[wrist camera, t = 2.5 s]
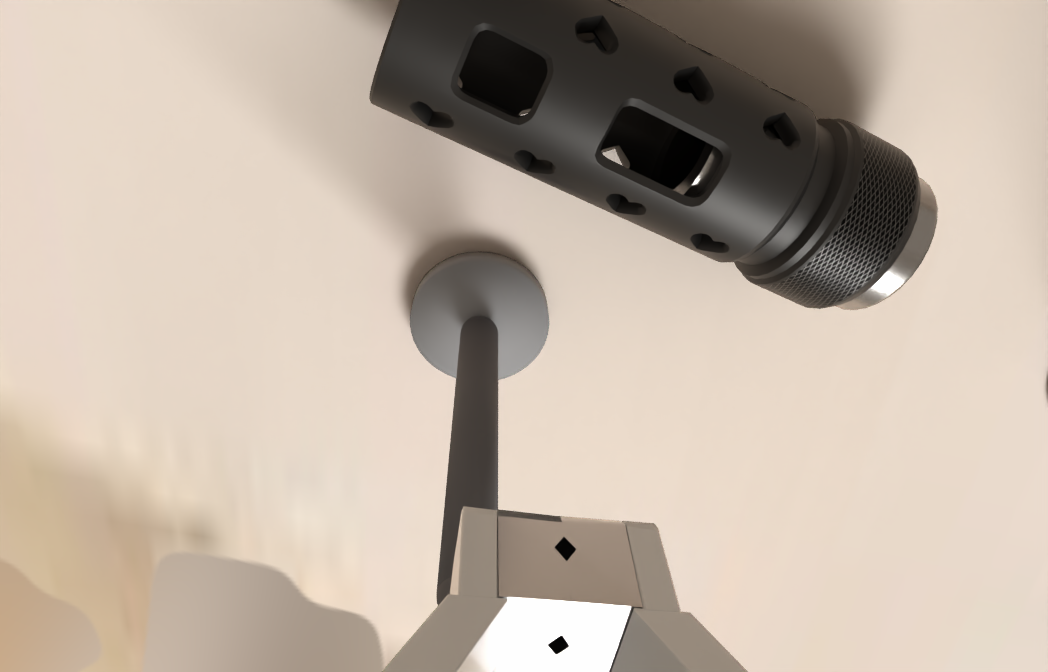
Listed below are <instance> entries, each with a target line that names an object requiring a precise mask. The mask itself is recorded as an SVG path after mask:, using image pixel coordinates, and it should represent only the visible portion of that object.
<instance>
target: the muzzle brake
mask: <svg viewBox="0 0 1048 672" xmlns="http://www.w3.org/2000/svg"><path fill="white" fill-rule="evenodd" d="M370 101H371V103H372V104H374V105H376V106H378V107H380V108H382V109H385V110H387V111H389V112H391V113H393V114H396V115H398V116H400V117H402V118H404V119H407V120H409V121H411V122H413V123H415V124H418V125H420V126H422V127H424V128H426V129H429V130H431V131H433V132H435V133H437V134H439V135H442V136H444V137H446V138H448V139H450V140H453V141H455V142H457V143H459V144H461V145H464V146H466V147H468V148H470V149H472V150H475V151H477V152H479V153H481V154H483V155H485V156H488V157H490V158H492V159H494V160H496V161H499V162H501V163H503V164H505V165H507V166H510V167H512V168H514V169H516V170H518V171H521V172H523V173H525V174H527V175H529V176H532V177H534V178H536V179H538V180H540V181H542V182H545V183H547V184H549V185H551V186H553V187H556V188H558V189H560V190H562V191H564V192H567V193H569V194H571V195H573V196H575V197H578V198H580V199H582V200H584V201H586V202H588V203H591V204H593V205H595V206H597V207H599V208H602V209H604V210H606V211H608V212H610V213H613V214H615V215H617V216H619V217H621V218H624V219H626V220H628V221H630V222H632V223H635V224H637V225H639V226H641V227H643V228H645V229H648V230H650V231H652V232H654V233H656V234H659V235H661V236H663V237H665V238H667V239H670V240H672V241H674V242H676V243H678V244H681V245H683V246H685V247H687V248H689V249H691V250H694V251H696V252H698V253H700V254H702V255H705V256H707V257H709V258H711V259H713V260H716V261H718V262H734V263H735V265H736V267H737V268H738V269H739V270H740V271H741V272H742V274H743V276H744V277H745V278H746V279H747V280H748V281H750V282H751V283H753V284H755V285H758V286H760V287H762V288H764V289H767V290H769V291H771V292H773V293H775V294H778V295H780V296H782V297H784V298H786V299H789V300H791V301H793V302H795V303H797V304H800V305H802V306H804V307H807V308H819V309H820V308H826V307H832V306H836V307H839V308H841V309H847V310H858V309H863V308H868V307H870V306H873V305H875V304H878V303H879V302H881V301H883V300H884V299H886V298H888V297H890V296H891V295H892V294H893V293H895V292H896V291H897V290H898V289H900V288H901V287H902V286H903V285H904V284H905V283H906V282H907V281H908V280H909V278H910V277H911V276H912V275H913V274H914V272H915V271H916V270H917V268H918V267H919V265H920V264H921V262H922V260H923V259H924V257H925V255H926V253H927V251H928V249H929V247H930V244H931V242H932V239H933V236H934V233H935V228H936V224H937V211H938V208H937V202H936V197H935V195H934V193H933V191H932V189H931V187H930V186H929V185H928V184H927V183H926V182H925V181H924V180H923V179H921V178H919V177H918V174H917V171H916V168H915V166H914V164H913V162H912V160H911V159H910V158H909V156H907V155H906V154H905V153H904V152H903V151H902V150H901V149H899V148H897V147H895V146H893V145H891V144H890V143H888V142H886V141H884V140H882V139H880V138H879V137H877V136H875V135H873V134H871V133H869V132H867V131H866V130H864V129H862V128H860V127H858V126H856V125H855V124H853V123H850V122H848V121H845V120H841V119H835V120H831V119H819V120H816V118H815V115H814V114H813V112H812V111H811V110H810V109H809V108H808V107H807V106H806V105H804V104H803V103H801V102H799V101H797V100H795V99H793V98H791V97H789V96H787V95H785V94H783V93H781V92H779V91H777V90H774V89H772V88H768V87H767V85H765V84H764V83H762V82H761V81H760V80H758V79H756V78H754V77H753V76H751V75H749V74H747V73H745V72H743V71H741V70H740V69H738V68H736V67H734V66H732V65H730V64H729V63H727V62H725V61H723V60H721V59H719V58H717V57H716V56H714V55H712V54H710V53H707V52H705V51H703V50H701V49H699V48H697V47H695V46H693V45H690V44H687V43H686V42H685V41H684V40H682V39H681V38H679V37H678V36H676V35H675V34H673V33H671V32H669V31H667V30H666V29H664V28H662V27H660V26H658V25H656V24H655V23H653V22H651V21H649V20H647V19H645V18H643V17H642V16H640V15H638V14H636V13H634V12H632V11H630V10H629V9H627V8H625V7H623V6H621V5H619V4H617V3H614V2H612V1H610V0H400V1H399V4H398V7H397V9H396V12H395V15H394V18H393V20H392V23H391V26H390V29H389V32H388V35H387V38H386V41H385V43H384V46H383V50H382V53H381V56H380V59H379V62H378V65H377V68H376V72H375V75H374V79H373V82H372V86H371V91H370ZM525 113H528V114H526V115H524V116H520V115H522V114H525ZM612 149H616V152H617V154H618V156H619V158H620V161H621V163H622V165H623V166H622V165H620V164H618V163H616V162H613V161H611V160H609V159H608V158H606V157H605V156H604V155H603V154H602V152H606V151H609V150H612Z"/></svg>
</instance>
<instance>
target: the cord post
mask: <svg viewBox="0 0 1048 672" xmlns="http://www.w3.org/2000/svg"><path fill="white" fill-rule="evenodd" d="M410 327H411V333H412V336H413V340H414V342H415V344H416V346H417V348H418V350H419V351H420V353H421V354H422V355H423V356H424V358H425V359H426V360H427V361H428V362H429V363H430V364H431V365H433V366H434V367H435V368H437V369H438V370H440V371H441V372H443V373H445V374H447V375H449V376H452V377H454V378H456V387H455V398H454V409H453V420H452V431H451V442H450V453H449V464H448V475H447V486H446V497H445V508H444V519H443V529H442V540H441V551H440V562H439V573H438V584H437V604H438V605H439V604H440V603H441V602H442V601H443V600H444V598H445V597H446V596H447V595H448V594H450V588H451V580H452V572H453V564H454V556H455V550H456V543H457V537H458V531H459V524H460V518H461V511H462V509H463V506H465V507H474V508H482V509H490V510H495V511H496V510H498V380H500V379H503V378H507V377H509V376H512V375H514V374H516V373H518V372H519V371H521V370H523V369H524V368H525V367H527V366H528V365H529V364H530V363H531V362H532V361H533V360H534V359H535V358H536V357H537V356H538V354H539V353H540V351H541V350H542V348H543V346H544V344H545V341H546V338H547V335H548V329H549V315H548V307H547V301H546V297H545V294H544V291H543V289H542V287H541V285H540V283H539V282H538V281H537V279H536V278H535V277H534V275H533V274H532V273H531V272H530V271H529V270H528V269H526V268H525V267H524V266H523V265H521V264H520V263H518V262H516V261H515V260H512V259H510V258H508V257H506V256H502V255H499V254H495V253H490V252H469V253H463V254H459V255H456V256H453V257H450V258H448V259H446V260H444V261H442V262H441V263H439V264H437V265H436V266H435V267H434V268H432V269H431V270H430V271H429V272H428V273H427V274H426V275H425V276H424V278H423V279H422V281H421V282H420V284H419V286H418V288H417V290H416V293H415V296H414V300H413V304H412V309H411V315H410Z"/></svg>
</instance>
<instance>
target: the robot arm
mask: <svg viewBox="0 0 1048 672" xmlns="http://www.w3.org/2000/svg"><path fill="white" fill-rule="evenodd" d="M382 672H748V671H747V670H746V669H745V668H744V667H743V666H742V665H741V664H740V663H739V662H738V661H737V660H736V659H735V658H734V657H733V656H732V655H731V654H730V653H729V652H728V651H727V650H726V649H725V648H724V647H723V646H722V645H721V644H720V643H719V642H718V641H717V640H716V638H715V637H714V636H713V635H712V634H711V633H710V632H709V631H708V630H707V629H706V628H705V627H704V626H703V625H702V624H701V623H700V622H699V621H698V620H697V619H696V618H695V617H694V616H693V615H692V614H691V613H688V612H681V611H680V607H679V603H678V600H677V596H676V592H675V589H674V585H673V581H672V578H671V574H670V570H669V567H668V563H667V559H666V555H665V552H664V548H663V544H662V541H661V537H660V533H659V530H658V528H657V527H656V525H655V524H654V523H642V522H629V521H622V522H621V521H615V520H602V519H590V518H577V517H564V516H550V515H541V514H532V513H524V512H515V511H506V510H496V511H495V510H490V509H482V508H474V507H465V506H463V509H462V511H461V518H460V524H459V531H458V537H457V543H456V550H455V556H454V564H453V572H452V580H451V588H450V594H448V595H447V596H446V597H445V598H444V600H443V601H442V602H441V603H440V604H439V605H438V607H437V608H436V609H435V610H434V611H433V612H432V614H431V615H430V616H429V617H428V618H427V619H426V621H425V622H424V623H423V624H422V625H421V626H420V628H419V629H418V630H417V631H416V632H415V633H414V635H413V636H412V637H411V638H410V639H409V640H408V642H407V643H406V644H405V645H404V646H403V647H402V649H401V650H400V651H399V652H398V653H397V654H396V656H395V657H394V658H393V659H392V660H391V661H390V663H389V664H388V665H387V666H386V667H385V668H384V670H383V671H382Z"/></svg>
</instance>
